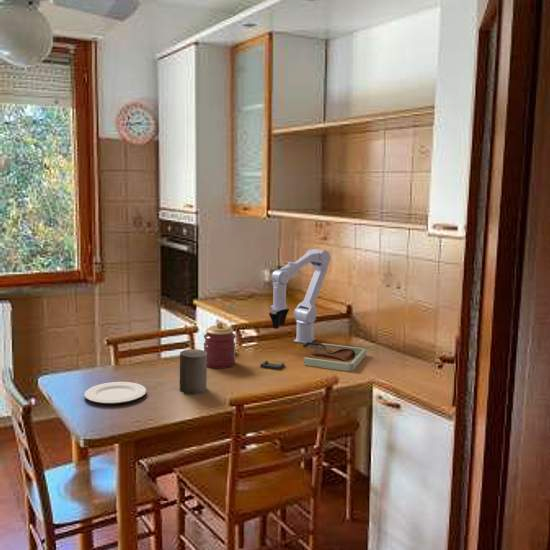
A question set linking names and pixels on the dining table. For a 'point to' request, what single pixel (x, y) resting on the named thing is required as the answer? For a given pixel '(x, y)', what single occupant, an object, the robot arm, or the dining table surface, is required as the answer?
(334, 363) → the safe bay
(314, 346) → the rear trap pocket
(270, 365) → the front trap pocket
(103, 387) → the plate
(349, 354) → the sunglasses case
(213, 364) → the canister
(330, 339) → the dining table surface
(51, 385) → the dining table surface
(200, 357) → the pillar candle
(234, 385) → the dining table surface
